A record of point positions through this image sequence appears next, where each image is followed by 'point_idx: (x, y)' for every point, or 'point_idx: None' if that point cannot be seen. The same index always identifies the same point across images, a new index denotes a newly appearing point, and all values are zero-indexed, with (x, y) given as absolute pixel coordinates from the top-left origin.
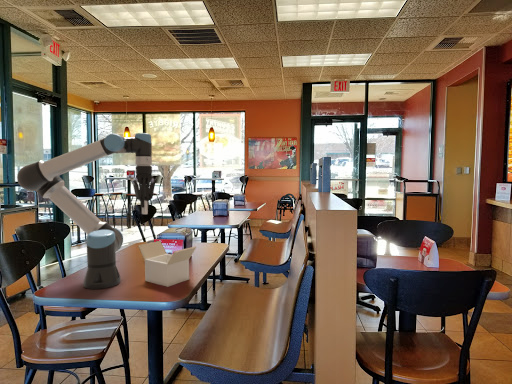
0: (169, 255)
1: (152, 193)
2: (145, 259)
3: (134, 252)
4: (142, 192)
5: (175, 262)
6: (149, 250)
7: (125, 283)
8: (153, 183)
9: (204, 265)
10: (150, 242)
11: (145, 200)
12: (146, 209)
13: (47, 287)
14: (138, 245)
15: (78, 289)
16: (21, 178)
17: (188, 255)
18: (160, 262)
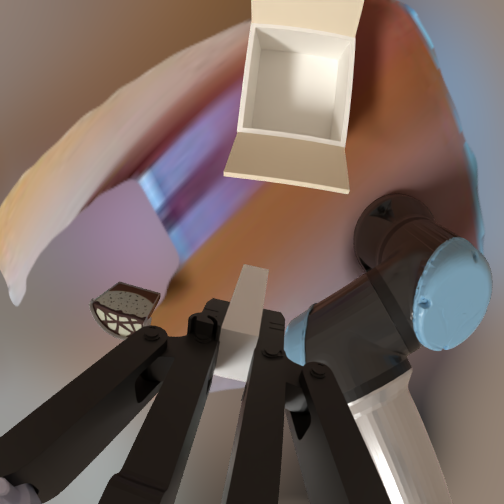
0: (244, 113)
1: (108, 365)
2: (345, 143)
3: None
4: (280, 430)
5: (321, 27)
6: (308, 159)
7: (371, 183)
8: (13, 464)
9: (124, 109)
10: (125, 333)
11: (217, 358)
12: (250, 283)
13: None
14: (348, 190)
15: None
16: None
17: (270, 4)
18: (352, 66)
